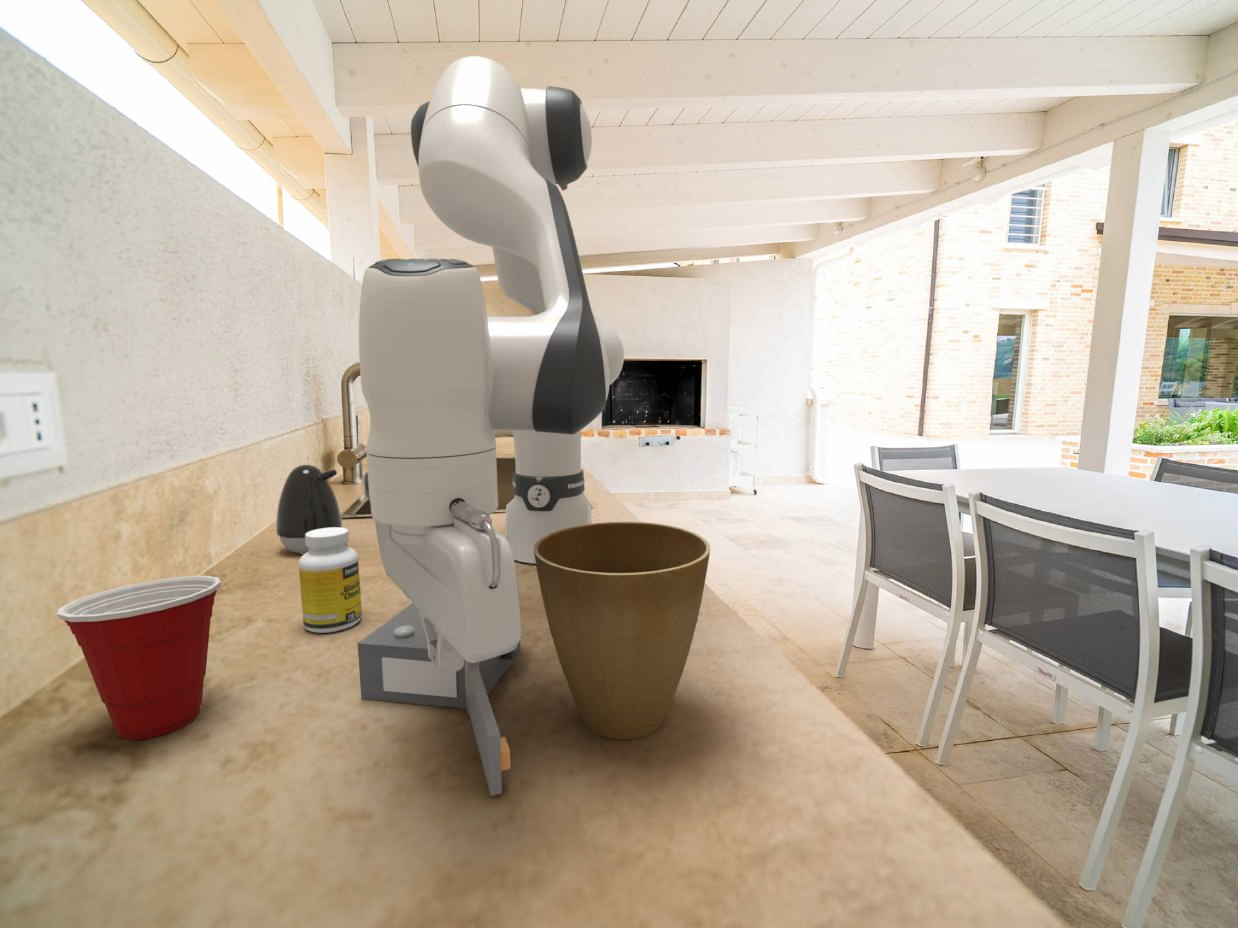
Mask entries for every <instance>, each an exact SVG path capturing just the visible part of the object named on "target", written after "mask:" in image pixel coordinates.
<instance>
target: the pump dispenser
mask: <svg viewBox="0 0 1238 928" xmlns="http://www.w3.org/2000/svg"><path fill="white" fill-rule="evenodd" d="M337 474H338V471H337V470H336V469H334V468H333V469H330V470H327V471H325V472H323V471H322V470H321V469H320V468H318V467H317V466H316V465H315V466H314V465H311V464H302V465H301V464H300V465H298V466H296V467H295V468H293V469H292V470H291V472H289V474H288V476H287V478H286V479H285V481H284V485H283V487H282V490H281V493H280V495H279V501H278V505H277V513H276V525H275V527H276V535H277V536H278V537H279V540H280V542H281V544H282V545H283V546H284V547H285V548H286V549H287V550H288V551H290V552H292V553H295V554H299V553H307V552H308V551H309V548H308V547H307V546H306V543H305V534H306V533H307V532H309V531H312V530H316V529H321V528H330V527H341V528H343V522H342V521H343V520H342V515H341V510H340V507H339V503H338V500H337V497H336V494H335V492H334V489H333V487H332V486H331V484H330V482H329V480H330V479H331V478H333V477H334V476H336V475H337ZM328 479H329V480H328Z"/></svg>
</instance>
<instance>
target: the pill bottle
mask: <svg viewBox="0 0 1238 928" xmlns="http://www.w3.org/2000/svg"><path fill="white" fill-rule="evenodd" d="M349 539H350V533H349V529H348V528H345V527H342V528H341V527H330V528H321V529H316V530H312V531H309V532H307V533H306V534H305V543H306V546H307V547H308V548H309V551H308V552H307V553H305V554H302V556H301V557H300V559H299V562H298V574H299V585H300V599H301V609H302V621H303V622H302V623H303V627H304V628H305V629H306V630H308V631H309V632H313V633H318V634H319V633H320V634H323V633H324V634H326V633H334V632H339V631H343V630H346V629H348V628H351V627H354V625H356V624H357V623H358V622H360V620H361V618H362V615H363V614H362V612H363V611H362V598H361V597H362V596H361V583H360V568H359V566H360V565H359V555H358V553H357V551H356V550H355V549H354V548H352V547H349V546H348V543H349V541H350V540H349Z"/></svg>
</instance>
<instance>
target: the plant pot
mask: <svg viewBox="0 0 1238 928" xmlns="http://www.w3.org/2000/svg"><path fill="white" fill-rule="evenodd" d="M710 553H711V545H710V543H709V542H708V540H707V539H705V538H704V537H702V536H701V535H700V534H698V533H696V532H695V531H691V530H689V529H685V528H683V527H679V526H674V525H670V524H661V523H656V522H655V523H654V522H643V521H606V522H595V523H593V522H592V524H585V525H579V526H574V527H570V528H566V529H561V530H558V531H556V532H553V533H550V534H548V535H546V536H544V537H543V538H541V539H540V540H539V541H538V542H537V543H536V544H535V546H534V555H535V561H536V564H535V567H536V571H537V578H538V582H539V587H540V593H541V598H542V603H543V607H544V611H545V615H546V619H547V624H548V628H549V631H550V635H551V639H552V641H553V645H554V648H555V652H556V655H557V657H558V660H559V663H560V664H559V665H560V667H561V671H562V673H563V675H564V678H565V681H566V683H567V686H568V688H569V691H570V693H571V696H572V698H573V700H574V704H575V705H576V708H577V710H578V712H579V714H580V717H581V719H582V721H583V724H584V725H585V726H586V727H587V728H588V730H590V731H592V732H593V733H594V734H596V735H598V736H601V737H604V738H608V739H613V740H633V739H640V738H642V737H645V736H648V735H650V734H652V733H654V732H655V731H656V730H658V729H659V728H660V727H661V726H662V724H663V723H664V721H665V718H666V716H667V714H668V712H669V709H670V706H671V704H672V702H673V700H674V697H675V695H676V693H677V689H678V686H679V684H680V680H681V678H682V676H683V672H684V669H685V666H686V663H687V659H688V657H689V654H690V650H691V646H692V644H693V639H694V636H695V631H696V627H697V623H698V618H699V615H700V609H701V607H702V606H701V604H702V602H703V601H702V599H703V594H704V589H705V584H706V577H707V573H708V566H709V559H710V555H711V554H710Z"/></svg>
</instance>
